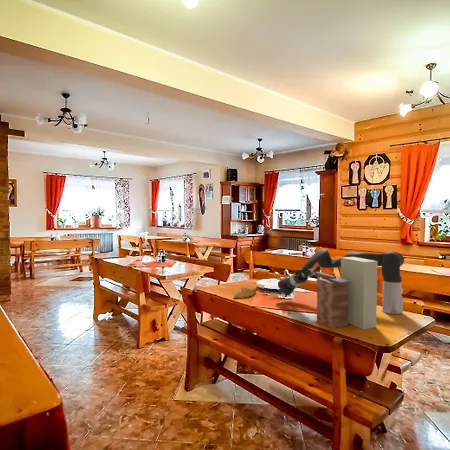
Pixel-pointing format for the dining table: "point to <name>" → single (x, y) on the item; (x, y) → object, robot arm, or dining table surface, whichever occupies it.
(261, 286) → the plate
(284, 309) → the dining table surface
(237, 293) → the tan rounded lump
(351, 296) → the tall pale grey box
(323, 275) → the spatula
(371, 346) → the dining table surface
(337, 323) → the wood grain box
